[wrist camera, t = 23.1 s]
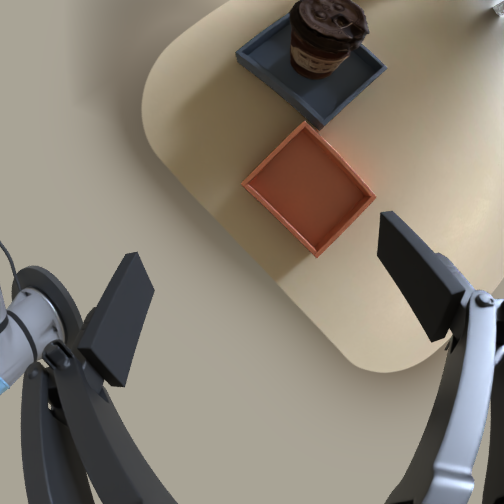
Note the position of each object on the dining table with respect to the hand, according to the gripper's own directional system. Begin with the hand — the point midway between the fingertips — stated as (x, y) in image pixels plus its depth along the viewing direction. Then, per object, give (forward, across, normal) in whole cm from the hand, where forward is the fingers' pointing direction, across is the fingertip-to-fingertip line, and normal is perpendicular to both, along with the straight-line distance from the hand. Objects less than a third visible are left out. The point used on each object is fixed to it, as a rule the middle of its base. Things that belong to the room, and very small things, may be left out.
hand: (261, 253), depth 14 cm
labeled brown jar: (+27, +11, +12) cm, 32 cm away
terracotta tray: (+22, +7, -5) cm, 24 cm away
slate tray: (+28, +11, +12) cm, 32 cm away
